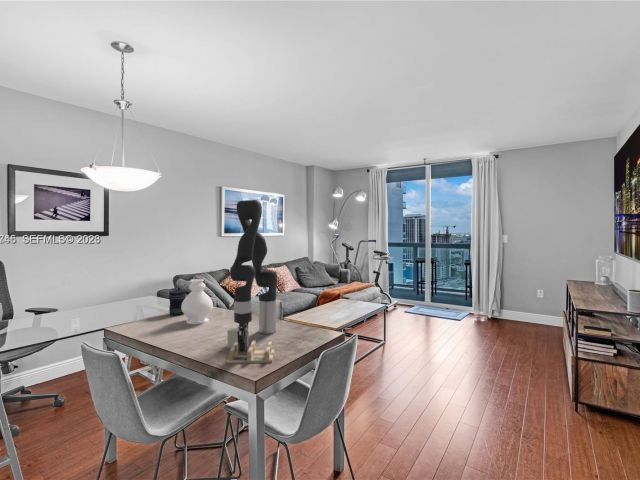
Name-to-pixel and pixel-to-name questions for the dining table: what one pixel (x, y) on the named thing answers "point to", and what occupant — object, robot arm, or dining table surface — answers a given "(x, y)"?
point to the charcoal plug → (245, 343)
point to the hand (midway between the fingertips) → (243, 349)
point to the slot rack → (251, 354)
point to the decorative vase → (197, 303)
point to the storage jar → (176, 302)
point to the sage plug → (232, 336)
